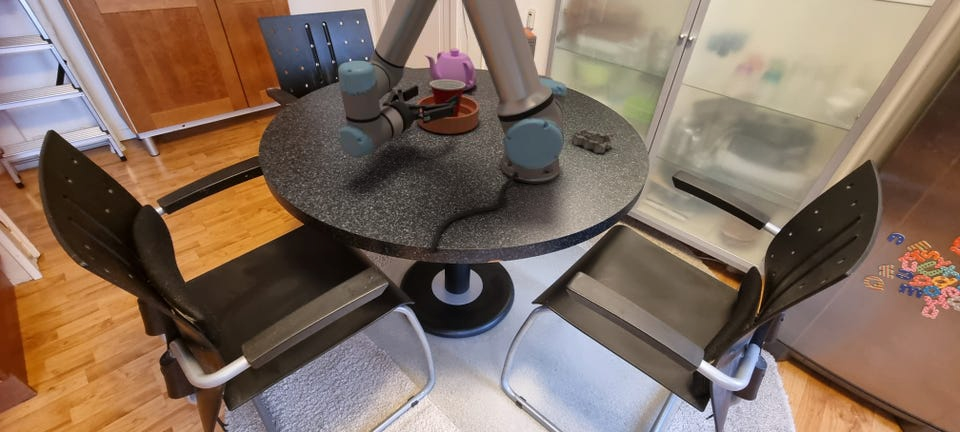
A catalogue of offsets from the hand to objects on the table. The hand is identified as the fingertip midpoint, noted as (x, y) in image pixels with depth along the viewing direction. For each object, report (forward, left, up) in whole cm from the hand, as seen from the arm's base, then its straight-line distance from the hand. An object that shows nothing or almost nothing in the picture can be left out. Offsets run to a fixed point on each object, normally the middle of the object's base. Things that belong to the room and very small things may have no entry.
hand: (437, 94), depth 107 cm
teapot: (+37, +9, -11) cm, 39 cm away
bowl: (+7, -1, -11) cm, 13 cm away
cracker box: (+47, -16, -11) cm, 50 cm away
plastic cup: (+7, -1, -11) cm, 12 cm away
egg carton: (+6, -46, -11) cm, 48 cm away
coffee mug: (+32, -26, -11) cm, 42 cm away
